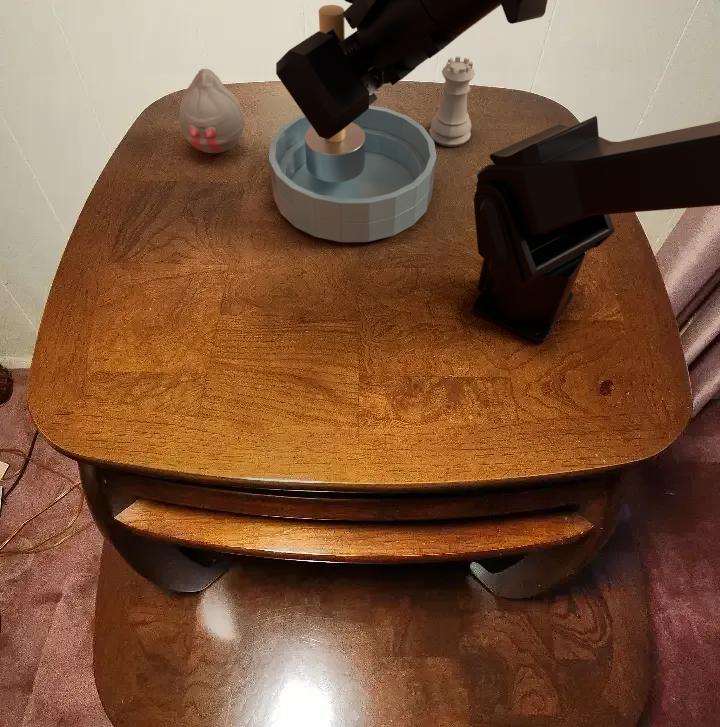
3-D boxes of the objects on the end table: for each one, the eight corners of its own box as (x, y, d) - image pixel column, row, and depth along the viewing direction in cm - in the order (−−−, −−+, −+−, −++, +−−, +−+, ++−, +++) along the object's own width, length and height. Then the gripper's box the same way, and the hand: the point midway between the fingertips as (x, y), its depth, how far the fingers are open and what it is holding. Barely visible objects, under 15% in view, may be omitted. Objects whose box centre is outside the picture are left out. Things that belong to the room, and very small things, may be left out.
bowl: (458, 182, 62) (465, 137, 58) (374, 270, 54) (376, 226, 50) (334, 132, 67) (333, 87, 63) (242, 206, 59) (234, 161, 55)
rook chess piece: (469, 150, 65) (481, 76, 59) (426, 146, 65) (434, 72, 59) (471, 126, 68) (483, 53, 61) (430, 123, 68) (438, 49, 62)
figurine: (176, 165, 63) (156, 90, 57) (196, 126, 67) (180, 53, 61) (238, 171, 63) (225, 96, 56) (255, 132, 67) (244, 58, 60)
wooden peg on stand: (376, 160, 60) (381, 6, 49) (342, 190, 57) (339, 34, 46) (329, 140, 62) (323, -12, 50) (294, 168, 59) (280, 13, 48)
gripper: (450, -163, 44) (329, -29, 57) (285, -86, 35) (184, 54, 47) (526, -14, 48) (397, 80, 60) (395, 91, 38) (275, 177, 51)
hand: (321, 94), depth 55 cm, fingers closed on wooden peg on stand
